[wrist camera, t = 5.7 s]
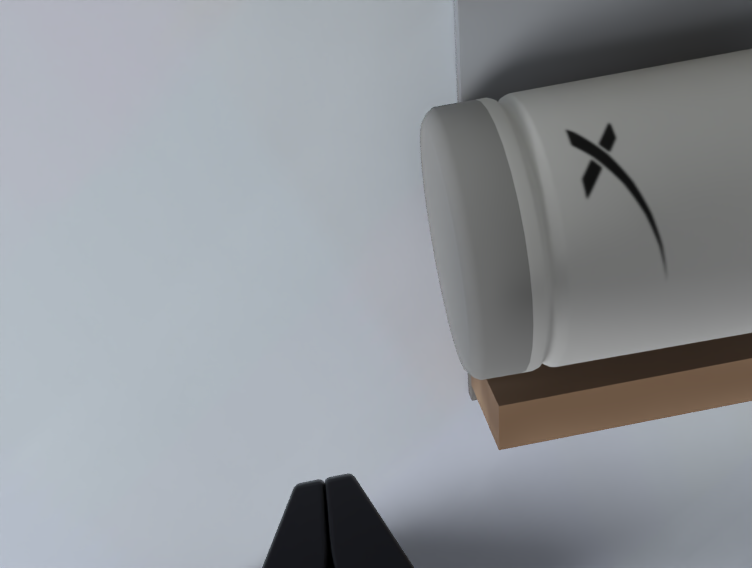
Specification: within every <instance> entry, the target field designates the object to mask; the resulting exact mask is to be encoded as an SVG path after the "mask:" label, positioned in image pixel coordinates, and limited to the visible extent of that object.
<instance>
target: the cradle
mask: <svg viewBox="0 0 752 568" xmlns="http://www.w3.org/2000/svg"><path fill="white" fill-rule="evenodd" d="M454 17H455V43H456V69H457V96H458V103H459V102H465V101H470V100H476V99H481V98H490V99H494V100H496V101H497V102H498V101H499V99H500V98H502V97H503V96H505V95H507V94H509V93H514V92H519V91H524V90H530V89H535V88H541V87H546V86H551V85H557V84H562V83H568V82H573V81H579V80H584V79H589V78H595V77H600V76H606V75H611V74H617V73H622V72H627V71H633V70H638V69H644V68H649V67H654V66H660V65H665V64H671V63H676V62H682V61H687V60H692V59H698V58H703V57H709V56H714V55H720V54H725V53H730V52H736V51H741V50H747V49H752V0H454ZM468 385H469V395H470V397H471V399H472V400H478V402H479V404H480V407H481V409H482V411H483V414H484V416H485V418H486V421H487V423H488V425H489V428H490V430H491V432H492V435H493V437H494V439H495V442H496V444H497V446H498V449H499V450H502V449H507V448H512V447H517V446H522V445H528V444H533V443H538V442H543V441H548V440H553V439H558V438H563V437H568V436H574V435H579V434H584V433H589V432H594V431H599V430H604V429H609V428H615V427H620V426H625V425H630V424H635V423H640V422H645V421H650V420H655V419H661V418H666V417H671V416H676V415H681V414H686V413H691V412H696V411H701V410H707V409H712V408H717V407H722V406H727V405H732V404H737V403H742V402H748V401H752V333H747V334H741V335H735V336H730V337H724V338H718V339H713V340H707V341H701V342H695V343H690V344H684V345H678V346H673V347H667V348H661V349H656V350H650V351H644V352H638V353H633V354H627V355H621V356H616V357H610V358H604V359H599V360H593V361H587V362H581V363H576V364H570V365H564V366H559V367H549V366H547V365H544V364H543V363H542V364H541V366H540V367H539V368H537V369H535V370H533V371H530V372H524V373H519V374H513V375H507V376H502V377H496V378H490V379H484V380H478V379H476V378H474V377H473V376H471V375H470V374H469V373H468Z"/></svg>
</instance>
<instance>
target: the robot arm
mask: <svg viewBox="0 0 752 568" xmlns="http://www.w3.org/2000/svg"><path fill="white" fill-rule="evenodd" d="M262 568H414V567H413V565H412V564H411V562H410V561H409V559H408V558H407V556H406V555H405V553H404V551H403V550H402V548H401V547H400V545H399V544H398V542H397V541H396V539H395V538H394V536H393V535H392V533H391V532H390V530H389V529H388V527H387V526H386V524H385V522H384V521H383V519H382V518H381V516H380V515H379V513H378V512H377V510H376V509H375V507H374V506H373V504H372V503H371V501H370V500H369V498H368V497H367V495H366V493H365V492H364V490H363V489H362V487H361V486H360V484H359V483H358V481H357V480H356V478H355V477H354V476H353V475H352V474H343V475H338V476H333V477H329V478H327V479H326V480H325V483H324V482H323V481H322V480H319V479H318V480H313V481H308V482H303V483H299V484H297V485H296V486H295V487H294V489H293V491H292V494H291V496H290V499H289V501H288V504H287V506H286V509H285V511H284V514H283V517H282V519H281V522H280V524H279V527H278V529H277V532H276V534H275V537H274V539H273V542H272V544H271V547H270V549H269V552H268V554H267V557H266V559H265V562H264V564H263V567H262Z"/></svg>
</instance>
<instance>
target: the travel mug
mask: <svg viewBox="0 0 752 568" xmlns="http://www.w3.org/2000/svg"><path fill="white" fill-rule="evenodd" d="M420 147H421V163H422V174H423V183H424V191H425V199H426V207H427V213H428V220H429V227H430V233H431V239H432V245H433V251H434V256H435V262H436V267H437V272H438V277H439V282H440V287H441V292H442V296H443V301H444V306H445V310H446V314H447V318H448V322H449V326H450V330H451V334H452V337H453V341H454V344H455V347H456V351H457V354H458V356H459V359H460V362H461V364H462V366H463V368H464V369H465V370H466V371H467V372H468V373H469V374H470V375H471V376H473V377H474V378H476V379H478V380H484V379H490V378H496V377H502V376H507V375H513V374H519V373H524V372H530V371H533V370H535V369H537V368H539V367H540V366H541V364H542V363H543V364H544V365H547V366H549V367H559V366H564V365H570V364H576V363H581V362H587V361H593V360H599V359H604V358H610V357H616V356H621V355H627V354H633V353H638V352H644V351H650V350H656V349H661V348H667V347H673V346H678V345H684V344H690V343H695V342H701V341H707V340H713V339H718V338H724V337H730V336H735V335H741V334H747V333H752V49H747V50H741V51H736V52H730V53H725V54H720V55H714V56H709V57H703V58H698V59H692V60H687V61H682V62H676V63H671V64H665V65H660V66H654V67H649V68H644V69H638V70H633V71H627V72H622V73H617V74H611V75H606V76H600V77H595V78H589V79H584V80H579V81H573V82H568V83H562V84H557V85H551V86H546V87H541V88H535V89H530V90H524V91H519V92H514V93H509V94H507V95H505V96H503V97H502V98H500V99H499V101H498V102H497V101H496V100H494V99H490V98H481V99H476V100H470V101H465V102H459V103H454V104H448V105H443V106H438V107H433V108H432V109H431V110H430V111H429V112H428V113H427V114H426V116H425V117H424V119H423V121H422V123H421V130H420Z"/></svg>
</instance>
